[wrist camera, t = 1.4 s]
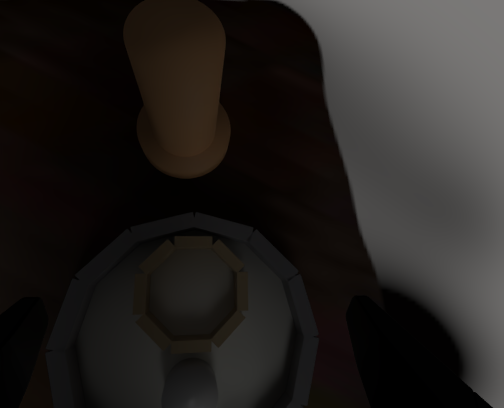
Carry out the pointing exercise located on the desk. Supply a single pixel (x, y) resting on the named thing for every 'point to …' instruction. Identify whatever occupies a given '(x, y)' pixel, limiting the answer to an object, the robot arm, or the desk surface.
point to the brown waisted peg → (179, 85)
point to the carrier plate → (184, 322)
